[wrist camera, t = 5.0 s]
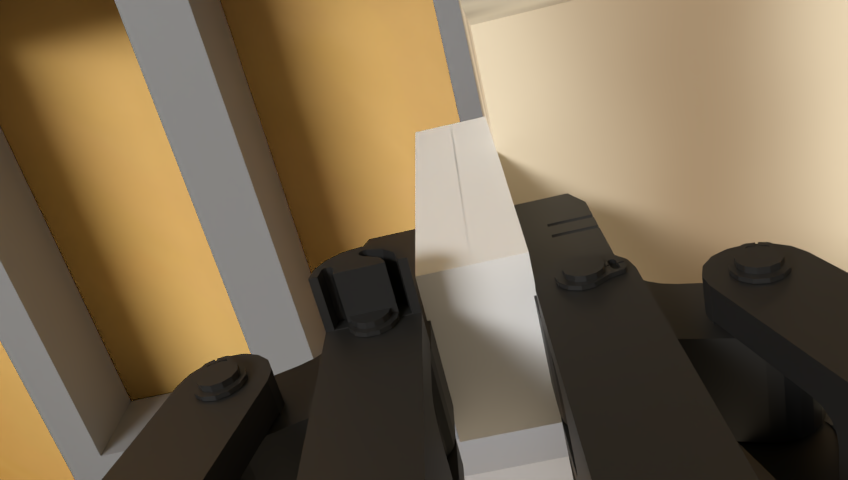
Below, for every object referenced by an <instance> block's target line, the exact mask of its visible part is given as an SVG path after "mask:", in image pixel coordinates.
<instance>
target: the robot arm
mask: <svg viewBox="0 0 848 480" xmlns="http://www.w3.org/2000/svg"><path fill="white" fill-rule="evenodd" d="M308 280H309V283H310V286H311V289H312V292H313V295H314V298H315V301H316V304H317V307H318V310H319V313H320V316H321V319H322V322H323V325H324V328H325V331H326V335H325V340H324V345H323V350H322V354H320V355H319V356H317V357H316V358H314V359H312V360H310V361H308V362H306V363H304V364H301V365H299V366H297V367H294V368H292V369H289V370H287V371H284V372H282V373H279V374H277V375H274V374H273V371H272V368H271V366H270V363H269V360H268V359H266V358H264V357H262V356H260V355H255V354H239V355H234V356H225V357H221V358H218V359H217V361H215V360H213V361H211V362H208V363H206V364H205V365H204V366H203V367H201V368H200V369H198V370H196V371H195V372H193V373H191V374H190V375H189V376H188V377H187V378H185V379H184V380H183V381H182V382H181V383H180V384H179V385H178V386H177V387H176V388H175V390H174V391H173V392H172V393H171V394H170V396H169V397H168V398H167V399H166V401H165V402H164V403H163V404H162V406H161V407H160V408H159V409H158V411H157V412H156V413H155V414H154V415H153V417H152V418H151V419H150V420H149V422H148V423H147V424H146V425H145V427H144V428H143V429H142V430H141V432H140V433H139V434H138V435H137V436H136V438H135V439H134V440H133V441H132V443H131V444H130V445H129V446H128V448H127V449H126V450H125V451H124V453H123V454H122V455H121V456H120V457H119V459H118V460H117V461H116V462H115V464H114V465H113V466H112V467H111V469H110V470H109V471H108V472H107V474H106V475H105V476H104V477H103V478H102V480H465V479H464V467H463V463H462V459H461V455H460V451H459V448H458V444H457V440H456V436H455V426H456V430H457V433H458V437H459V441H460V442H463V441H468V440H473V439H479V438H484V437H489V436H494V435H499V434H504V433H509V432H515V431H520V430H525V429H530V428H535V427H540V426H545V425H551V424H556V423H561V422H562V425H563V430H564V435H565V440H566V445H567V450H568V455H569V460H570V465H571V470H572V475H573V480H848V272H846V271H844V270H842V269H840V268H838V267H836V266H834V265H832V264H830V263H829V262H827V261H825V260H823V259H821V258H819V257H817V256H815V255H813V254H811V253H810V252H807V251H805V250H802V249H799V248H796V247H793V246H790V245H782V244H773V243H771V242H758V244H755V242H754V243H746V244H742V245H741V246H737V247H733V248H728V249H726V250H724V251H721V252H719V253H717V254H715V255H713V256H711V257H710V258H709V260H708V261H707V262H706V263H705V264H704V265H703V268H702V281H703V283H687V284H663V283H655V282H649V281H645V280H643V278H642V277H641V275H640V273H639V272H638V270H637V268H636V266H634V265H633V264H632V263H631V262H630V261H629V260H628V259H626V258H623V257H620V256H617V255H614V253H613V251H612V249H611V248H610V246H609V244H608V242H607V240H606V238H605V237H604V235H603V233H602V231H601V229H600V228H599V227H598V224H597V222H596V220H595V218H594V217H593V215H592V213H591V211H590V209H589V207H588V206H587V204H586V202H585V201H583V200H581V199H578V198H576V197H574V196H572V195H570V194H568V193H567V194H562V195H557V196H553V197H548V198H544V199H539V200H535V201H530V202H526V203H521V204H517V205H514V204H513V201H512V197H511V194H510V191H509V188H508V185H507V182H506V178H505V175H504V172H503V169H502V166H501V162H500V159H499V156H498V153H497V151H496V148H495V145H494V142H493V139H492V136H491V133H490V130H489V127H488V124H487V121H486V118H485V117H480V118H476V119H472V120H467V121H463V122H459V123H454V124H450V125H446V126H441V127H437V128H433V129H428V130H424V131H420V132H415V229H414V230H409V231H405V232H400V233H395V234H391V235H386V236H382V237H377V238H373V239H369V240H368V242H367V243H366V244H365V245H364V246H363V247H359V248H356V249H353V250H349V251H346V252H343V253H340V254H338V255H336V256H334V257H332V258H330V259H328V260H326V261H325V262H323V263H322V264H321V265H320V266H318V267H317V268H316V269H314V271H313V272H312V274H311V275H310V277H309V279H308Z"/></svg>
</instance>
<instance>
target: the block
mask: <svg viewBox="0 0 848 480" xmlns="http://www.w3.org/2000/svg"><path fill="white" fill-rule="evenodd" d="M458 1H459V6H460V10H461V15H462V20H463V25H464V29H465V34H466V39H467V44H468V48H469V53H470V58H471V63H472V67H473V72H474V77H475V81H476V86H477V91H478V96H479V100H480V105H481V110H482V115H483V117H485V118H486V121H487V124H488V127H489V130H490V133H491V136H492V139H493V142H494V145H495V148H496V151H497V153H498V156H499V159H500V162H501V166H502V169H503V172H504V175H505V178H506V182H507V185H508V188H509V191H510V194H511V197H512V201H513V204H514V205H517V204H521V203H526V202H530V201H535V200H539V199H544V198H548V197H553V196H557V195H562V194H567V193H568V194H570V195H572V196H574V197H576V198H578V199H581V200H583V201H585V202H586V204H587V206H588V207H589V209H590V211H591V213H592V215H593V217H594V218H595V220H596V222H597V224H598V227H599V228H600V229H601V231H602V233H603V235H604V237H605V238H606V240H607V242H608V244H609V246H610V248H611V249H612V251H613V253H614V255H617V256H620V257H623V258H626V259H628V260H629V261H630V262H631V263H632V264H633V265H634V266H636V268H637V270H638V272H639V273H640V275H641V277H642V278H643V280H645V281H649V282H655V283H663V284H687V283H703V281H702V268H703V265H704V264H705V263H706V262H707V261H708V260H709V258H710V257H711V256H713V255H715V254H717V253H719V252H721V251H724V250H726V249H728V248H733V247H737V246H741V245H742V244H746V243H754V242H755V244H758V242H771V243H773V244H782V245H790V246H793V247H796V248H799V249H802V250H805V251H807V252H810V253H811V254H813V255H815V256H817V257H819V258H821V259H823V260H825V261H827V262H829V263H830V264H832V265H834V266H836V267H838V268H840V269H842V270H844V271H846V272H848V0H458Z"/></svg>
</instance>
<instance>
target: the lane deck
mask: <svg viewBox="0 0 848 480" xmlns="http://www.w3.org/2000/svg"><path fill="white" fill-rule="evenodd" d="M114 1H115V4H116V6H117V9H118V11H119V14H120V16H121V19H122V22H123V24H124V27H125V29H126V32H127V35H128V37H129V40H130V42H131V45H132V47H133V50H134V53H135V55H136V58H137V60H138V63H139V66H140V68H141V71H142V73H143V76H144V78H145V81H146V84H147V86H148V89H149V91H150V94H151V97H152V99H153V102H154V104H155V107H156V109H157V112H158V115H159V117H160V120H161V122H162V125H163V128H164V130H165V133H166V135H167V138H168V140H169V143H170V146H171V148H172V151H173V153H174V156H175V159H176V161H177V164H178V166H179V169H180V171H181V174H182V177H183V179H184V182H185V184H186V187H187V190H188V192H189V195H190V197H191V200H192V203H193V205H194V208H195V210H196V213H197V215H198V218H199V221H200V223H201V226H202V228H203V231H204V234H205V236H206V239H207V241H208V244H209V246H210V249H211V252H212V254H213V257H214V259H215V262H216V265H217V267H218V270H219V272H220V275H221V277H222V280H223V283H224V285H225V288H226V290H227V293H228V296H229V298H230V301H231V303H232V306H233V308H234V311H235V314H236V316H237V319H238V321H239V324H240V327H241V329H242V332H243V334H244V337H245V339H246V342H247V345H248V347H249V350H250V352H251V354H255V355H260V356H262V357H264V358H266V359H268V360H269V363H270V366H271V368H272V371H273V374H274V375H277V374H279V373H282V372H284V371H287V370H289V369H292V368H294V367H297V366H299V365H301V364H304V363H306V362H308V361H310V360H312V359H314V358H316V357H317V356H319V355H320V354H322V350H323V345H324V340H325V335H326V331H325V328H324V325H323V322H322V319H321V316H320V313H319V310H318V307H317V304H316V301H315V298H314V295H313V292H312V289H311V286H310V283H309V280H308V279H309V277H310V275H311V272H310V269H309V266H308V263H307V260H306V257H305V254H304V251H303V248H302V245H301V242H300V239H299V236H298V233H297V230H296V227H295V224H294V221H293V218H292V215H291V212H290V209H289V206H288V203H287V200H286V197H285V194H284V191H283V188H282V185H281V182H280V179H279V176H278V173H277V170H276V167H275V164H274V161H273V158H272V155H271V152H270V149H269V146H268V143H267V140H266V137H265V134H264V131H263V128H262V125H261V122H260V119H259V116H258V113H257V110H256V107H255V104H254V101H253V98H252V95H251V92H250V89H249V86H248V83H247V80H246V77H245V74H244V71H243V68H242V65H241V62H240V59H239V56H238V53H237V50H236V47H235V44H234V41H233V38H232V35H231V32H230V29H229V26H228V23H227V20H226V17H225V14H224V11H223V8H222V5H221V2H220V0H114ZM433 2H434V7H435V11H436V16H437V20H438V25H439V29H440V34H441V38H442V43H443V47H444V51H445V56H446V60H447V65H448V69H449V74H450V78H451V83H452V87H453V92H454V96H455V101H456V105H457V109H458V114H459V118H460V122H463V121H467V120H472V119H476V118H480V117H483V115H482V110H481V105H480V100H479V96H478V91H477V86H476V81H475V77H474V72H473V67H472V63H471V58H470V53H469V48H468V44H467V39H466V34H465V29H464V25H463V20H462V15H461V10H460V6H459V1H458V0H433ZM0 341H1V343H2V345H3V347H4V349H5V350H6V352H7V354H8V356H9V358H10V360H11V362H12V363H13V365H14V367H15V369H16V371H17V373H18V375H19V376H20V378H21V380H22V382H23V384H24V386H25V388H26V389H27V391H28V393H29V395H30V397H31V399H32V401H33V402H34V404H35V406H36V408H37V410H38V412H39V414H40V415H41V417H42V419H43V421H44V423H45V425H46V427H47V428H48V430H49V432H50V434H51V436H52V438H53V440H54V441H55V443H56V445H57V447H58V449H59V451H60V453H61V454H62V456H63V458H64V460H65V462H66V464H67V466H68V467H69V469H70V471H71V473H72V475H73V477H74V479H75V480H102V478H103V477H104V476H105V475H106V474H107V472H108V471H109V470H110V469H111V467H112V466H113V465H114V464H115V462H116V461H117V460H118V459H119V457H120V456H121V455H122V454H123V453H124V451H125V450H126V449H127V448H128V446H129V445H130V444H131V443H132V441H133V440H134V439H135V438H136V436H137V435H138V434H139V433H140V432H141V430H142V429H143V428H144V427H145V425H146V424H147V423H148V422H149V420H150V419H151V418H152V417H153V415H154V414H155V413H156V412H157V411H158V409H159V408H160V407H161V406H162V404H163V403H164V402H165V401H166V399H167V398H168V397H169V396H170V394H171V393H167V394H163V395H158V396H153V397H148V398H144V399H139V400H134V401H131V400H130V398H129V396H128V394H127V392H126V390H125V388H124V386H123V384H122V381H121V379H120V377H119V375H118V373H117V371H116V369H115V367H114V365H113V363H112V360H111V358H110V356H109V354H108V352H107V350H106V348H105V346H104V344H103V341H102V339H101V337H100V335H99V333H98V331H97V329H96V327H95V325H94V323H93V320H92V318H91V316H90V314H89V312H88V310H87V308H86V306H85V304H84V302H83V299H82V297H81V295H80V293H79V291H78V289H77V287H76V285H75V283H74V281H73V278H72V276H71V274H70V272H69V270H68V268H67V266H66V264H65V262H64V260H63V257H62V255H61V253H60V251H59V249H58V247H57V245H56V243H55V241H54V238H53V236H52V234H51V232H50V230H49V228H48V226H47V224H46V222H45V220H44V217H43V215H42V213H41V211H40V209H39V207H38V205H37V203H36V201H35V199H34V196H33V194H32V192H31V190H30V188H29V186H28V184H27V182H26V180H25V178H24V175H23V173H22V171H21V169H20V167H19V165H18V163H17V161H16V159H15V157H14V154H13V152H12V150H11V148H10V146H9V144H8V142H7V140H6V138H5V135H4V133H3V131H2V129H1V127H0ZM455 436H456V440H457V444H458V448H459V451H460V455H461V459H462V463H463V467H464V479H465V480H573V475H572V470H571V465H570V460H569V455H568V450H567V445H566V440H565V435H564V430H563V425H562V422H561V423H556V424H551V425H545V426H540V427H535V428H530V429H525V430H520V431H515V432H509V433H504V434H499V435H494V436H489V437H484V438H479V439H473V440H468V441H463V442H460V441H459V437H458V433H457V430H456V426H455Z"/></svg>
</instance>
